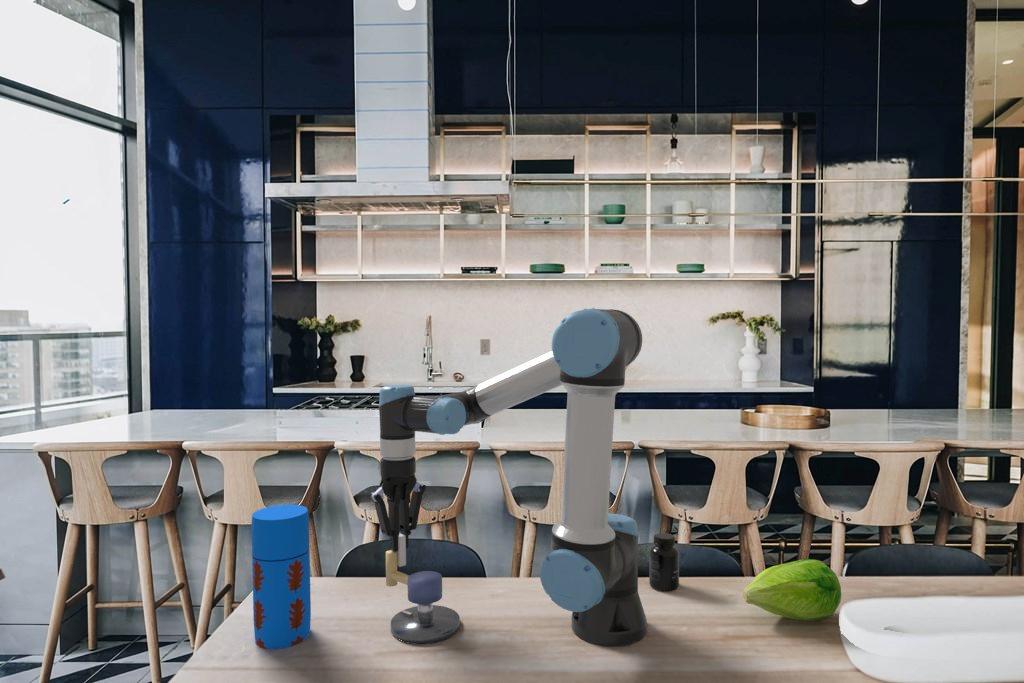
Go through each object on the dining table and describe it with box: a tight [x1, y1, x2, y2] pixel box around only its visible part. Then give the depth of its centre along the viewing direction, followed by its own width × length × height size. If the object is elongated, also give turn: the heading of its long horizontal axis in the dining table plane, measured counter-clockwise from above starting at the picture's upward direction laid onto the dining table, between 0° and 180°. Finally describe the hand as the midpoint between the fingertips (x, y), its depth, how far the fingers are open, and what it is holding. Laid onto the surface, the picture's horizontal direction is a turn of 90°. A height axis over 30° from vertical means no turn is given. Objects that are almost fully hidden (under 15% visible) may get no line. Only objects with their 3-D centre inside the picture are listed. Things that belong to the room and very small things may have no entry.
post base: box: [390, 603, 461, 645], centre depth 135 cm, size 14×14×6 cm
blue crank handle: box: [385, 549, 443, 605], centre depth 137 cm, size 16×7×7 cm, turn 48°
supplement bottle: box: [648, 532, 680, 593], centre depth 154 cm, size 7×7×12 cm
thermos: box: [251, 504, 312, 650], centre depth 131 cm, size 11×11×25 cm
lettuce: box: [742, 558, 842, 622], centre depth 137 cm, size 14×20×12 cm
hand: (399, 564), depth 143 cm, fingers closed
